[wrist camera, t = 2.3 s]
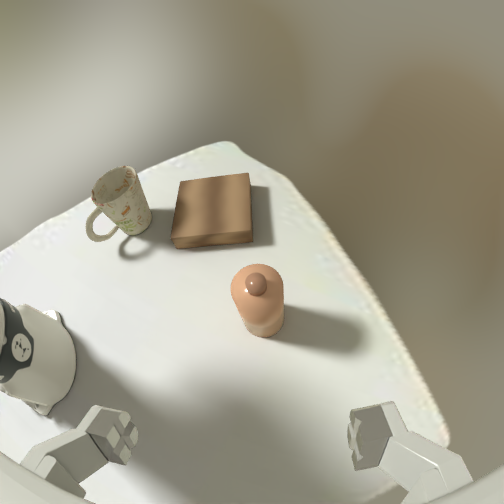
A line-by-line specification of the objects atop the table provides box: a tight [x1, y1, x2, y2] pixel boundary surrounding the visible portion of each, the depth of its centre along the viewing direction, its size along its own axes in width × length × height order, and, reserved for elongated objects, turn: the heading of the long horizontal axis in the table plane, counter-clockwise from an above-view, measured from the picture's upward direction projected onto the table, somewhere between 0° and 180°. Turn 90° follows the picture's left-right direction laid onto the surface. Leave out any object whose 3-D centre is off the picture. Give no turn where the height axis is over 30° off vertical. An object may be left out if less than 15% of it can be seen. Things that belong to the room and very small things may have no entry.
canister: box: [231, 264, 284, 337], centre depth 31 cm, size 5×5×11 cm
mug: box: [86, 166, 152, 242], centre depth 43 cm, size 8×13×10 cm, turn 142°
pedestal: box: [171, 173, 253, 249], centre depth 45 cm, size 12×12×3 cm
